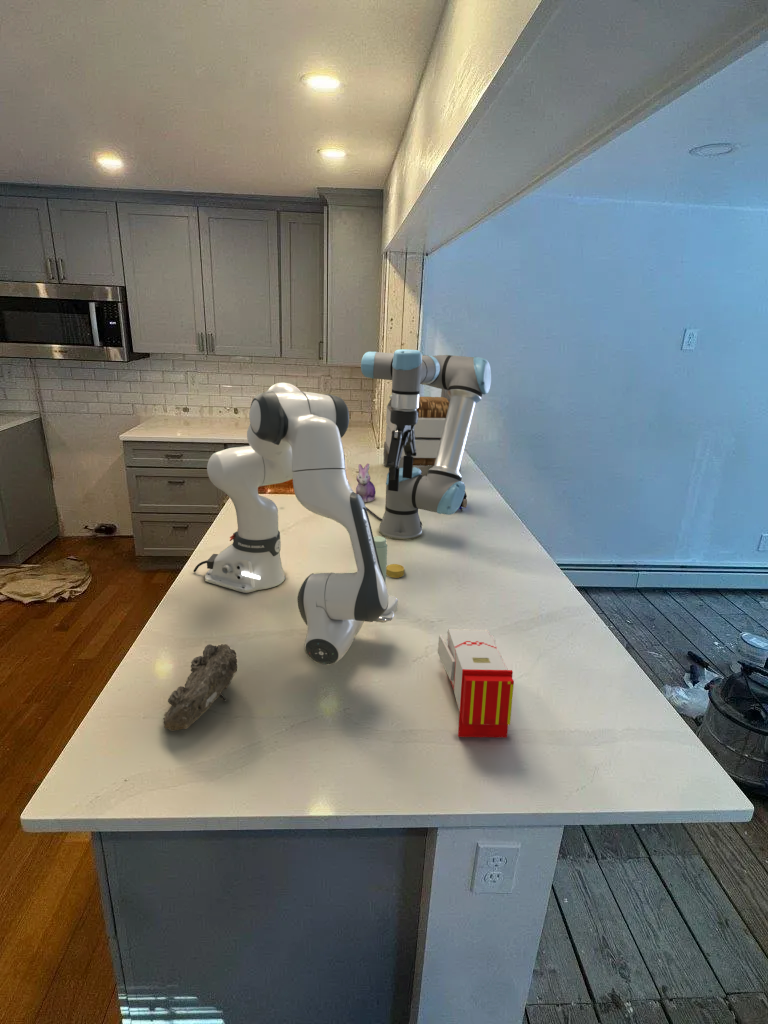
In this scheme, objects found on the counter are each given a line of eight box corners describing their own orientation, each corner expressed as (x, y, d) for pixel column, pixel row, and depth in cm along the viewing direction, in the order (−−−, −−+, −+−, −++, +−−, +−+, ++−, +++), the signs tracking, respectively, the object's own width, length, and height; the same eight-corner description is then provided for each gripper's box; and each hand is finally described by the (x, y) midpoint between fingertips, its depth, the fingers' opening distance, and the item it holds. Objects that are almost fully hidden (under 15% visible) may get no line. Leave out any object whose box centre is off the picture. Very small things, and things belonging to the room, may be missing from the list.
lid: (389, 578, 166) (389, 572, 166) (383, 570, 171) (383, 564, 171) (406, 576, 168) (407, 570, 168) (400, 569, 173) (400, 563, 172)
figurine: (360, 504, 227) (361, 468, 222) (349, 497, 236) (350, 462, 230) (380, 501, 231) (382, 466, 226) (369, 494, 240) (371, 460, 235)
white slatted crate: (382, 463, 289) (386, 382, 275) (445, 464, 293) (451, 384, 279) (390, 482, 257) (394, 392, 243) (460, 483, 261) (468, 394, 247)
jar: (381, 592, 158) (384, 534, 152) (387, 600, 154) (390, 541, 148) (365, 594, 157) (368, 536, 151) (371, 602, 153) (373, 543, 147)
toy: (488, 613, 130) (523, 677, 101) (484, 667, 133) (517, 744, 104) (435, 612, 130) (455, 676, 101) (432, 666, 133) (451, 743, 103)
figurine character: (467, 516, 223) (461, 500, 237) (469, 499, 220) (463, 483, 233) (450, 516, 223) (446, 499, 236) (452, 498, 220) (447, 483, 233)
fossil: (188, 646, 122) (238, 614, 117) (219, 675, 125) (269, 646, 120) (140, 724, 103) (196, 691, 98) (177, 757, 105) (234, 726, 100)
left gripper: (391, 610, 124) (405, 582, 137) (304, 594, 129) (325, 569, 141) (389, 634, 127) (403, 605, 139) (304, 618, 131) (324, 591, 144)
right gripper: (404, 401, 166) (400, 471, 173) (376, 414, 143) (373, 494, 151) (429, 403, 164) (424, 474, 171) (404, 417, 141) (400, 498, 148)
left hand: (363, 586), depth 140 cm, fingers open, 8 cm apart
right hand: (400, 484), depth 161 cm, fingers open, 13 cm apart
